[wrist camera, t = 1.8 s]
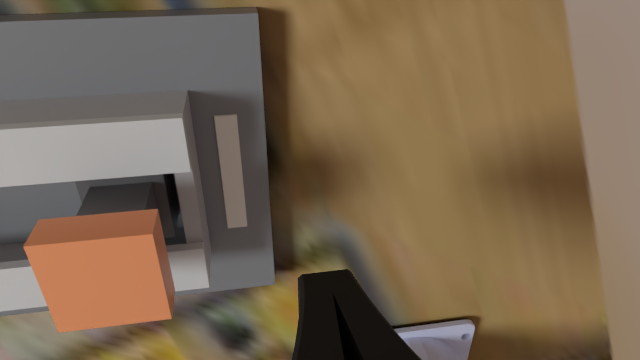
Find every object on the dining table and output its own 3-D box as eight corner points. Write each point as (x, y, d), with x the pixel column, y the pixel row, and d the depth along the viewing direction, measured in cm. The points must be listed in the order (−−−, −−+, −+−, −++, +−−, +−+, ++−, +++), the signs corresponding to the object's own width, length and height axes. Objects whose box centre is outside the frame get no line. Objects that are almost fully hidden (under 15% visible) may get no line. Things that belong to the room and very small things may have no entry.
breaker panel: (273, 269, 23) (280, 324, 20) (-101, 311, 20) (-154, 380, 17) (256, 6, 16) (262, 31, 14) (-285, 24, 14) (-416, 57, 11)
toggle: (184, 214, 19) (171, 318, 14) (100, 222, 18) (58, 332, 14) (172, 142, 17) (152, 234, 13) (79, 148, 17) (23, 246, 12)
